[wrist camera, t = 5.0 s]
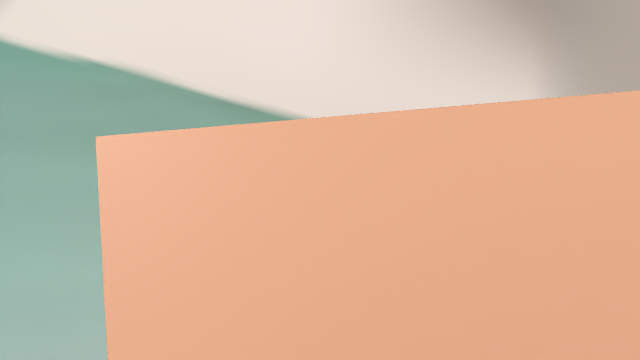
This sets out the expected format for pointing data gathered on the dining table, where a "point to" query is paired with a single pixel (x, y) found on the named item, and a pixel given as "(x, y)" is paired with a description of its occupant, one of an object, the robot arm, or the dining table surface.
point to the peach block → (379, 235)
